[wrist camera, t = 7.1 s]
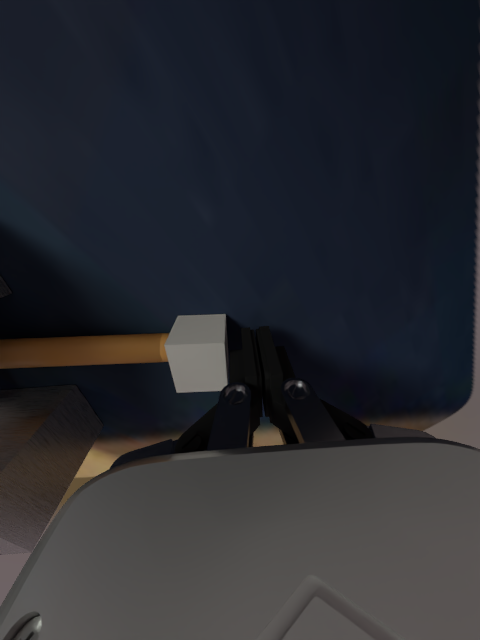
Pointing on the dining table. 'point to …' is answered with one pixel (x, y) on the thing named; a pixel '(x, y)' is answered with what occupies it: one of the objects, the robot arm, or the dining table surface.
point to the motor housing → (39, 455)
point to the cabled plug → (137, 351)
